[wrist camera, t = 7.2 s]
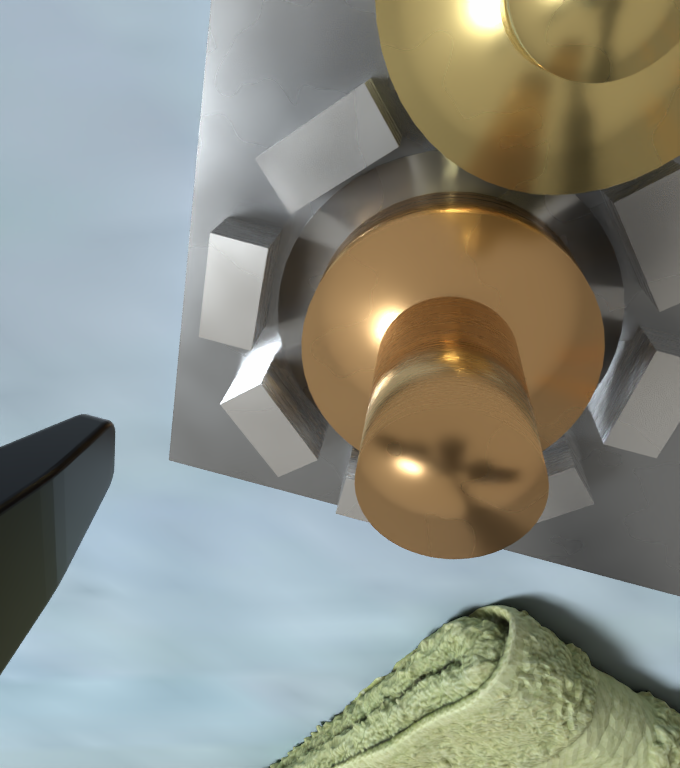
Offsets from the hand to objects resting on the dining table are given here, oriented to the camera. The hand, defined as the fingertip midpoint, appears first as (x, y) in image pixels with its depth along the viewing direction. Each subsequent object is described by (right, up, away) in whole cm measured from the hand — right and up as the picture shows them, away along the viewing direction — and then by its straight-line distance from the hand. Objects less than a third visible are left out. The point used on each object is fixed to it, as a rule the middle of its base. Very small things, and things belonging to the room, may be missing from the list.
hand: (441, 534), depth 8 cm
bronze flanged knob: (+1, +3, +6) cm, 7 cm away
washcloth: (+4, -13, +17) cm, 22 cm away
